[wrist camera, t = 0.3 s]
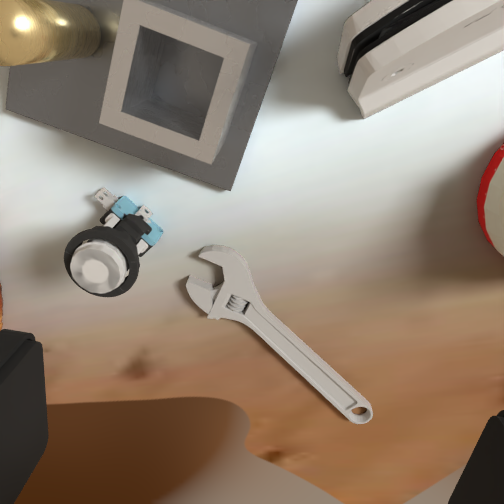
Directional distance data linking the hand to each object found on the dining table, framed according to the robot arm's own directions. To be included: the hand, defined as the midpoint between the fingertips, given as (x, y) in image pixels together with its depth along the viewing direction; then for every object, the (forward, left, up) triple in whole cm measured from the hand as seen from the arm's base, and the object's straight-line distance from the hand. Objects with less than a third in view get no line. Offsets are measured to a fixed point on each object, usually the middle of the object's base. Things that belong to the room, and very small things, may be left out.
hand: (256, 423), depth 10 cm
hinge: (-12, +8, -30) cm, 34 cm away
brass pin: (-2, -17, -29) cm, 34 cm away
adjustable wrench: (+19, +7, -31) cm, 37 cm away
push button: (+11, -10, -30) cm, 34 cm away
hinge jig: (-2, -12, -30) cm, 32 cm away
